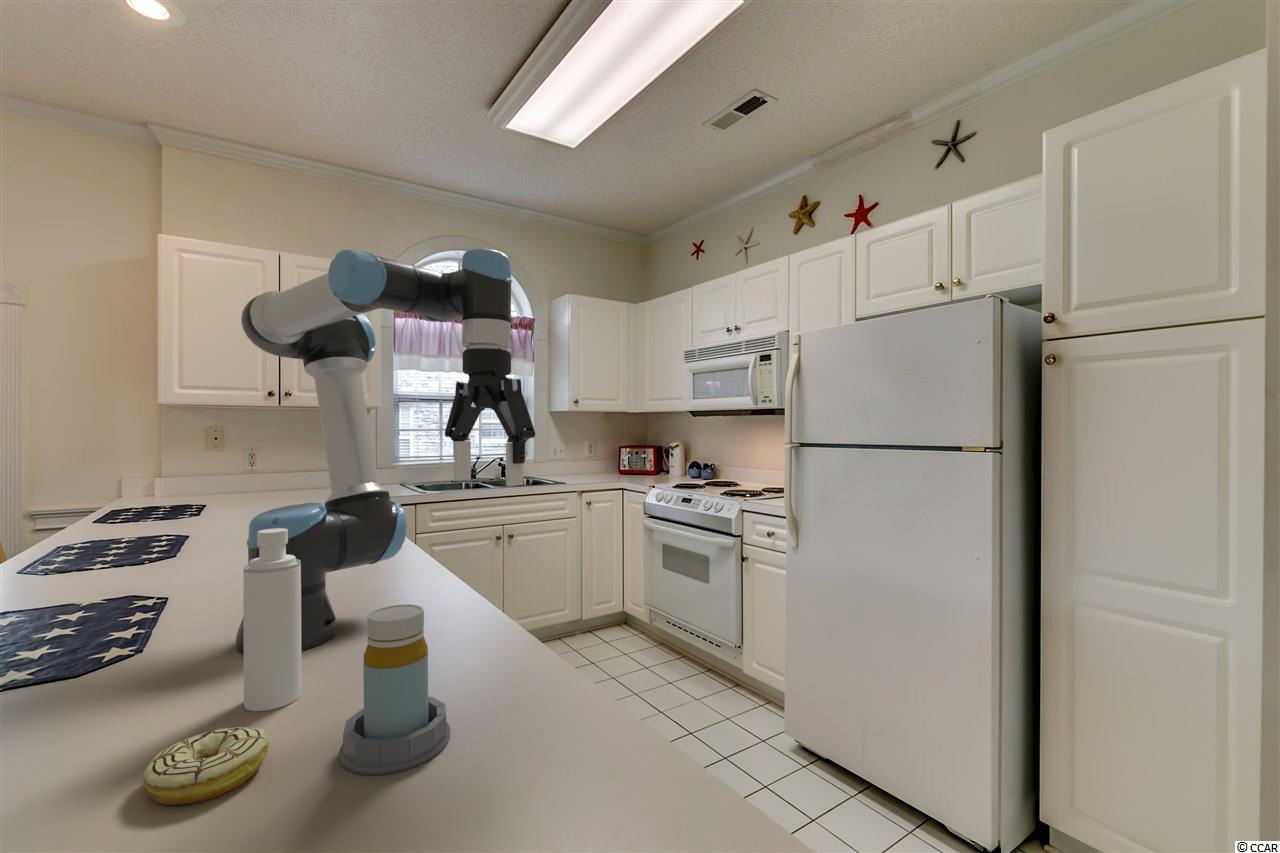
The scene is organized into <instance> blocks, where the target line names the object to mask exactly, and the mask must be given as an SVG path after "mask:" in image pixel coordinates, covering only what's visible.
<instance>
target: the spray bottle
mask: <svg viewBox="0 0 1280 853" xmlns="http://www.w3.org/2000/svg"><path fill="white" fill-rule="evenodd" d="M287 543H288V529H285V528H275V529H266V530H261V531H258V532H257V546H258V547H259V558H255V559H252V560H250V562H249V564H246V565H244V566H243V582H242V583H243V588H242V590H243V592H242V593H243V595H242V596H243V599H242V600H243V601H242V602H243V604H242V605H243V606H242V607H243V614H242V615H243V616H242V618H243V623H244V654H243V707H244V709H246V710H247V711H250V712H267V711H271V710H272V711H273V710H276V709H280V708H284V707H286V706H288V705H291V704H293V703H294V702H296V701H297V700H298V699H299V698H301V694H302V650H301V560H299V559H296V557H295V556H294V555H286V544H287ZM298 562H299V563H298Z"/></svg>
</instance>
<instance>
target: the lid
mask: <svg viewBox="0 0 1280 853" xmlns="http://www.w3.org/2000/svg"><path fill="white" fill-rule="evenodd" d="M446 709H447V708H446V703H444V702H443V701H441V700H439V699H437V698H435V697H433V696H428V725H427V726H426V727H424V728H422V729H420V730H417V731H415V732H413V733H411V734H409V735H406V736H400V737H395V738H389V739H384V740H382V739H370V738H364V707H363V708H361V709H360V710H358V711H357V712H356V713H355V714H353V715H352V716H351V717H350V718H348V719H347V720H346V721H345V724H344V729H343V732H342V739H343V740H342V744H341V746H340V749H339V763H340V764H341V766H342V767H343V768H344V769H345V770H347V771H349V772H350V773H353V774H357V775H362V776H382V775H383V776H384V775H391V774H392V775H393V774H396V773H400V772H404V771H407V770H410V769H413V768H416V767H418V766H421V765H423V764H425V763H427V762H428V761H430V760H431V759H434V758H435V757H436V756H438V755H439V754H440V753H441V752H442V751H443V750H444V749H445V748H446V747H447V745H448V744H449V742H450V738H451V729H450V728H451V727H450V725H449V723H448V722H447V710H446Z"/></svg>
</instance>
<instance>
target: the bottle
mask: <svg viewBox="0 0 1280 853" xmlns="http://www.w3.org/2000/svg"><path fill="white" fill-rule="evenodd" d="M366 619H367V620H366V623H367V625H366V630H367V631H366V632H367V633H366V634H367V637H366V638H367V645H366V648H365V652H364V653H363V708H364V738H370V739H382V740H384V739H389V738H395V737H400V736H406V735H409V734H411V733H413V732H415V731H417V730H420V729H422V728H424V727H426V726H427V725H428V697H429V651H428V649H429V648H428V644H427V641H426V638H425V636H424V634H425V633H424V632H425V629H424V627H425V611H424V607H423V606H421V605H418V604H412V603H411V604H408V603H406V604H403V603H402V604H395V605H393V604H392V605H388V606H387V605H386V606H384V607H379V608H377V609H375V610H373V611H371V612H369V613H368V615H367V618H366Z"/></svg>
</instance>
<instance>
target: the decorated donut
mask: <svg viewBox="0 0 1280 853" xmlns="http://www.w3.org/2000/svg"><path fill="white" fill-rule="evenodd" d="M269 746H270V744H269V742H268V737H267V735H266V733H265V730H264V729H260V728H256V727H255V728H253V727H250V726H249V727H247V726H246V727H245V726H237V727H236V726H235V727H225V728H217V729H212V730H208V731H206V732H203V733H200V734H197V735H193V736H189V737H187V738H185V739H182V740H181V741H178V742H176V743H174V744H172V745H170V746H168V747H166V748H164V749H162V750H161V751H160V752H158V753H157V754H156V755H155V756H154V757H153V759H152V760H151V761H150V762H149V764H148V766H147V767H146V768H145V770H144V772H143V773H142V777H143V778H142V779H143V784H144V787H145V790H146V792H147V793H148V795H149V796H151V798H152V799H154V801H156V802H157V803H160V804H163V805H167V806H168V805H169V806H170V805H171V806H176V805H186V804H195V803H200V802H203V801H206V800H211V798H212V799H214V798H217V797H219V796H222V795H224V794H227V793H226V792H228V791H229V792H230V791H232V790H234V789H236V788H238V787H240V786H241V785H243V784H244V783H246V782H247V780H248V779H250V778H251V777H252V776H253V775H254V774H255V773H257V771H258V770H259V769H260V768H261V766H262V764H263V762H264V759H265V757H266V755H267V753H268V751H269Z"/></svg>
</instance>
